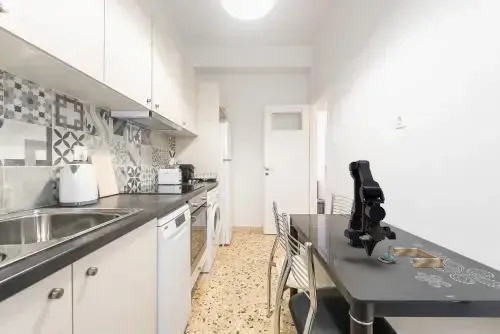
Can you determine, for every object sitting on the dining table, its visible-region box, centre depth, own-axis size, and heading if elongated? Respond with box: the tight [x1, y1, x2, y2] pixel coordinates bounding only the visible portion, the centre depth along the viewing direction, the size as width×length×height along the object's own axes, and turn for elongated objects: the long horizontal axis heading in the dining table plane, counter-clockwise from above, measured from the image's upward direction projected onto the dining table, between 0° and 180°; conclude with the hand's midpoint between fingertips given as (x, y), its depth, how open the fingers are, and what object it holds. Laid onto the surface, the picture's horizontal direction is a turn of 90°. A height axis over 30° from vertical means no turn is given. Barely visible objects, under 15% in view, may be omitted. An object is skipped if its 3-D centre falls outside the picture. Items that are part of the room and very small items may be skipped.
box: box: [392, 247, 444, 268], centre depth 112 cm, size 11×14×3 cm
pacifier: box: [377, 245, 397, 264], centre depth 111 cm, size 7×6×6 cm
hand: (369, 256), depth 111 cm, fingers closed
